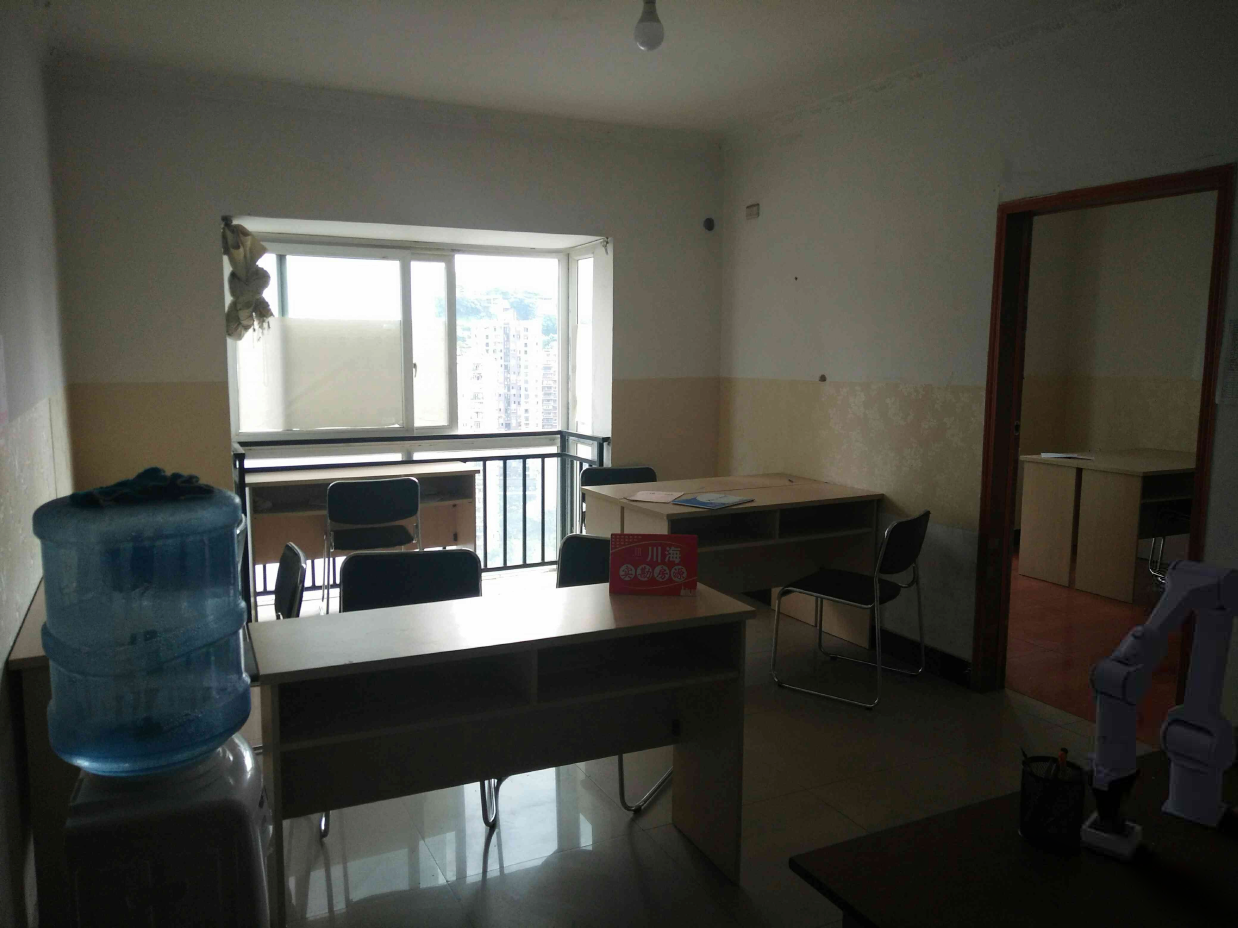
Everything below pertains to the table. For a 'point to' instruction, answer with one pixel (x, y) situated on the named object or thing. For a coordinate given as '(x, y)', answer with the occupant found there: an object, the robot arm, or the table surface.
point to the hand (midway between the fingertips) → (1112, 815)
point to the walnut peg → (1120, 821)
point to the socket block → (1111, 839)
